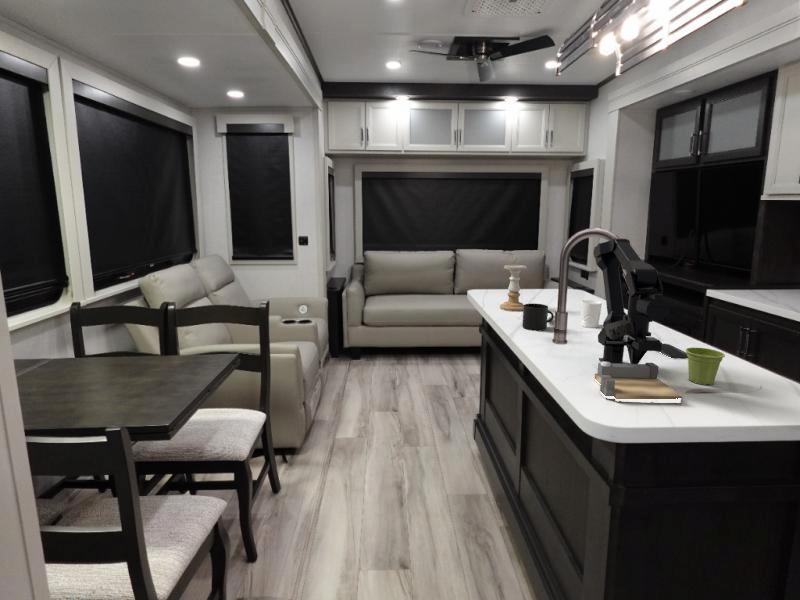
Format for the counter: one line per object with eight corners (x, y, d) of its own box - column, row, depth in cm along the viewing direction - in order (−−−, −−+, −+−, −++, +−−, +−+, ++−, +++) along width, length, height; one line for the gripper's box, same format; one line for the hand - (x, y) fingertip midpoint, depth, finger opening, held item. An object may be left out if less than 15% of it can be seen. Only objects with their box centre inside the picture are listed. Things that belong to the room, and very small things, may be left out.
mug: (556, 331, 195) (557, 308, 193) (524, 330, 196) (526, 308, 194) (549, 325, 204) (551, 303, 203) (520, 324, 205) (521, 303, 203)
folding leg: (601, 377, 137) (602, 364, 136) (597, 373, 140) (598, 360, 140) (657, 378, 137) (658, 365, 136) (651, 374, 140) (653, 362, 139)
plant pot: (685, 373, 148) (689, 345, 146) (723, 381, 142) (727, 351, 140) (678, 382, 140) (682, 352, 139) (718, 390, 135) (722, 359, 133)
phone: (667, 343, 177) (694, 356, 162) (667, 346, 177) (693, 359, 162) (646, 343, 176) (670, 356, 162) (645, 346, 177) (669, 359, 162)
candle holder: (495, 306, 240) (497, 264, 237) (517, 305, 244) (520, 264, 240) (507, 312, 229) (510, 268, 225) (531, 310, 233) (534, 267, 229)
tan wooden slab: (587, 380, 141) (588, 363, 140) (652, 381, 141) (654, 364, 140) (608, 402, 125) (610, 383, 125) (681, 404, 125) (683, 384, 124)
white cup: (596, 324, 208) (598, 300, 206) (602, 328, 200) (604, 304, 198) (577, 323, 208) (578, 299, 207) (581, 328, 201) (583, 303, 199)
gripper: (597, 305, 149) (593, 356, 151) (622, 319, 130) (617, 377, 133) (635, 306, 148) (630, 357, 151) (666, 320, 130) (660, 378, 133)
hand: (633, 366), depth 142 cm, fingers closed
